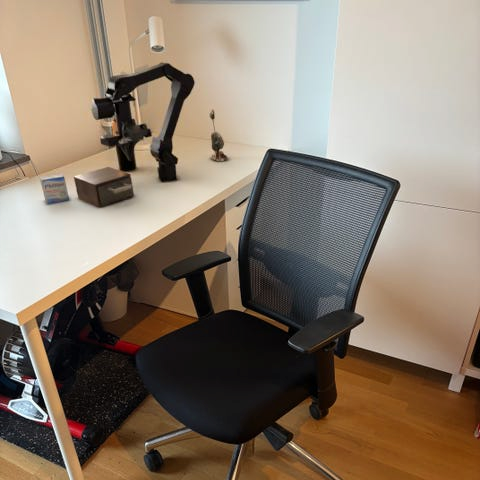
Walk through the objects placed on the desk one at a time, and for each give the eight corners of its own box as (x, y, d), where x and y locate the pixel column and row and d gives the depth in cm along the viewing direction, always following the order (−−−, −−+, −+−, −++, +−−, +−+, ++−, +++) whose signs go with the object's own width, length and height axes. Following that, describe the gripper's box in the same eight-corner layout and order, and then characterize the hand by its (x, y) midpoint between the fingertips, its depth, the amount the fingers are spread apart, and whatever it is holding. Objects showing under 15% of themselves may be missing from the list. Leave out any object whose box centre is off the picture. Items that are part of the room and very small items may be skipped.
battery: (116, 171, 208) (108, 120, 196) (124, 166, 213) (116, 116, 202) (132, 172, 206) (124, 121, 195) (139, 167, 211) (132, 117, 200)
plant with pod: (207, 163, 214) (204, 113, 203) (212, 155, 223) (209, 107, 212) (226, 163, 213) (223, 113, 202) (230, 155, 222) (228, 107, 211)
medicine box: (47, 204, 178) (41, 180, 173) (45, 200, 181) (39, 176, 176) (69, 200, 181) (64, 176, 176) (67, 196, 184) (61, 173, 179)
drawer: (141, 197, 178) (139, 180, 175) (109, 208, 170) (106, 190, 167) (114, 187, 188) (111, 170, 185) (82, 197, 180) (79, 179, 177)
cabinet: (133, 196, 182) (130, 174, 178) (99, 207, 174) (94, 184, 169) (112, 188, 190) (108, 166, 186) (78, 198, 182) (73, 176, 177)
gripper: (114, 123, 167) (121, 170, 175) (158, 114, 177) (163, 158, 186) (95, 119, 173) (103, 164, 182) (139, 110, 184) (145, 153, 193)
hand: (130, 160), depth 185 cm, fingers closed
